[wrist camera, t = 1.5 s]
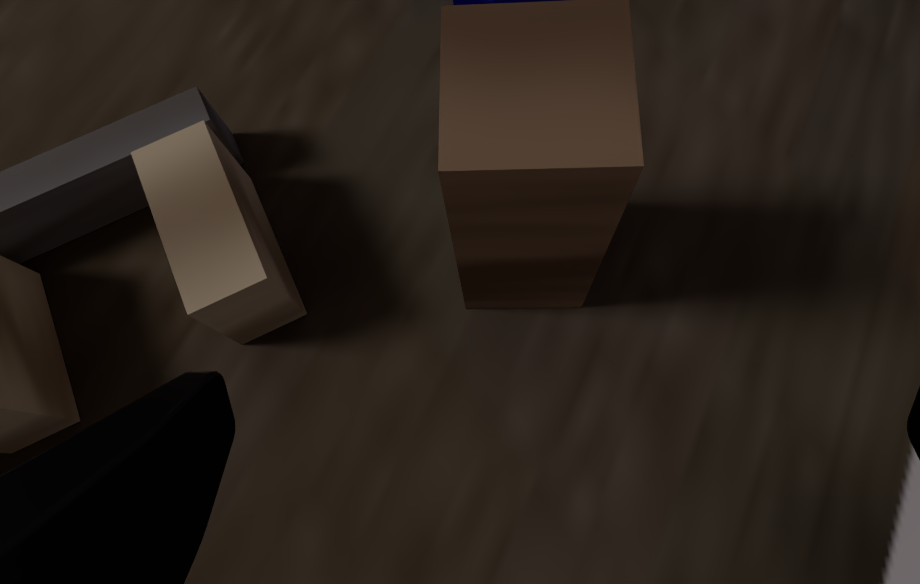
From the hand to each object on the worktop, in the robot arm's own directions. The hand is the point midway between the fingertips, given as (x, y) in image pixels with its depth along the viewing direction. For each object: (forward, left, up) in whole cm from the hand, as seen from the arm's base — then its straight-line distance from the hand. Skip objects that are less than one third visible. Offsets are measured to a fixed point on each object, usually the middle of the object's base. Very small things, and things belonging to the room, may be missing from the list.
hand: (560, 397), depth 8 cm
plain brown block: (+7, -1, -13) cm, 15 cm away
